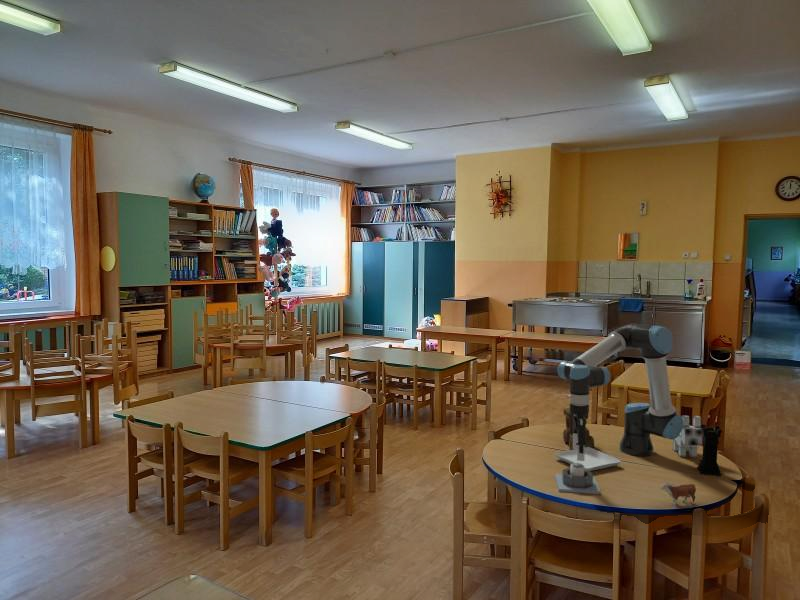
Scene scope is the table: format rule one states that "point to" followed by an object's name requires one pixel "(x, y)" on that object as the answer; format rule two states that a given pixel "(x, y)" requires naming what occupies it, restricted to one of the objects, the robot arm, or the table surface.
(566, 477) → the ring
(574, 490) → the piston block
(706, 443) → the chess piece
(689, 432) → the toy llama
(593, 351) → the robot arm
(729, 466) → the table surface
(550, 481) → the table surface
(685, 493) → the bull figurine
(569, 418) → the wooden toy train
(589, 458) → the salad plate
